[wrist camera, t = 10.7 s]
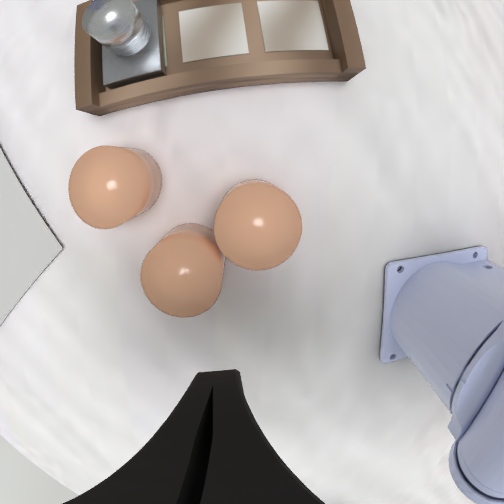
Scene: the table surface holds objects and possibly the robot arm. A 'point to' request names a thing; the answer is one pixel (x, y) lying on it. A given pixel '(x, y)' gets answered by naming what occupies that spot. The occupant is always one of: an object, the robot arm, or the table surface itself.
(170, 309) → the peach rounded cylinder
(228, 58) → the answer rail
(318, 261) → the table surface
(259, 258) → the peach domed capsule
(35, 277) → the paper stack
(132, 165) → the peach domed cylinder
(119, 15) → the slider
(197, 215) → the table surface
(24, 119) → the table surface
